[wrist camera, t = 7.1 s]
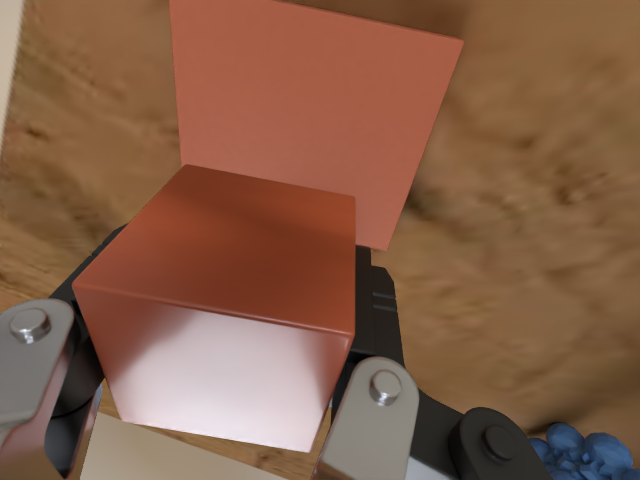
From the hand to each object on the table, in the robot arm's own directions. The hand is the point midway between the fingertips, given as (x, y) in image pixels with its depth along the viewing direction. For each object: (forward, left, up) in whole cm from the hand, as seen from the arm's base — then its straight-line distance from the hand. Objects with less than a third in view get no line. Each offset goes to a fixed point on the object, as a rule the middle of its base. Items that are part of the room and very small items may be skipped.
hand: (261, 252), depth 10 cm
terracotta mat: (0, 0, -10) cm, 10 cm away
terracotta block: (0, 0, 0) cm, 0 cm away
